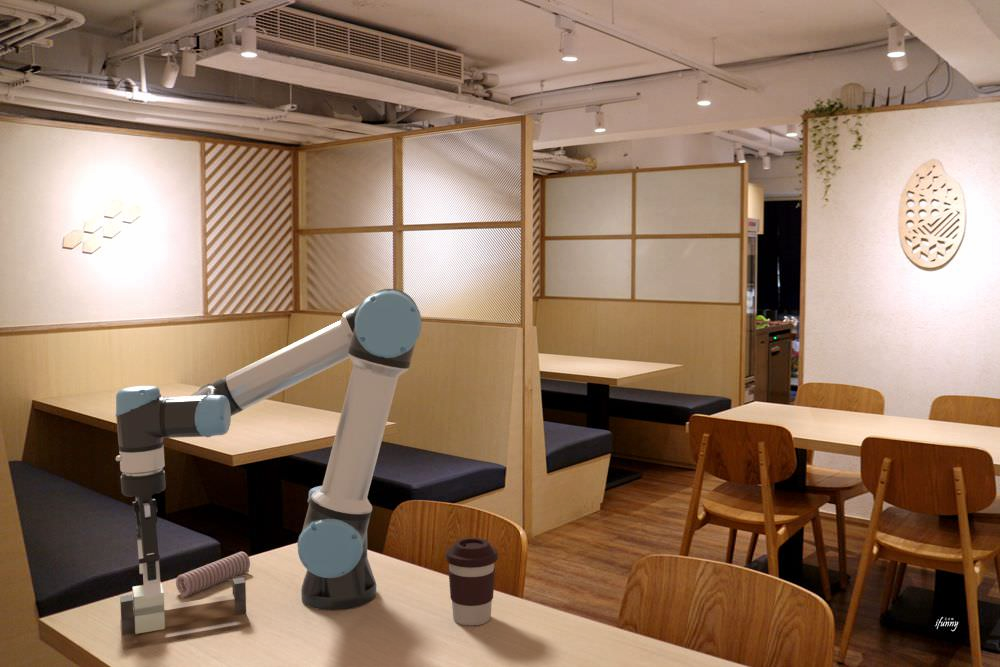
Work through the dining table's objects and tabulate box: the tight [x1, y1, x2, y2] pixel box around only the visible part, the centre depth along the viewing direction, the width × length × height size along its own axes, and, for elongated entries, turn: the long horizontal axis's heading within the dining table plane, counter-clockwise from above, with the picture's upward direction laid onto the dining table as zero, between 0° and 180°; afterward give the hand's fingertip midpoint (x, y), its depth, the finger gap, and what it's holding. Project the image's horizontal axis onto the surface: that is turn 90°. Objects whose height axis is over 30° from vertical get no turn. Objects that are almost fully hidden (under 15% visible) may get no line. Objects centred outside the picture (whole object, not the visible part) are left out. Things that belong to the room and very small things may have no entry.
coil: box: [175, 551, 251, 599], centre depth 184 cm, size 5×5×18 cm
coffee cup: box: [445, 537, 499, 627], centre depth 166 cm, size 10×10×15 cm
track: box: [119, 576, 251, 650], centre depth 163 cm, size 22×12×7 cm, turn 116°
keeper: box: [132, 581, 165, 634], centre depth 160 cm, size 5×6×7 cm
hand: (149, 583), depth 160 cm, fingers open, 13 cm apart
